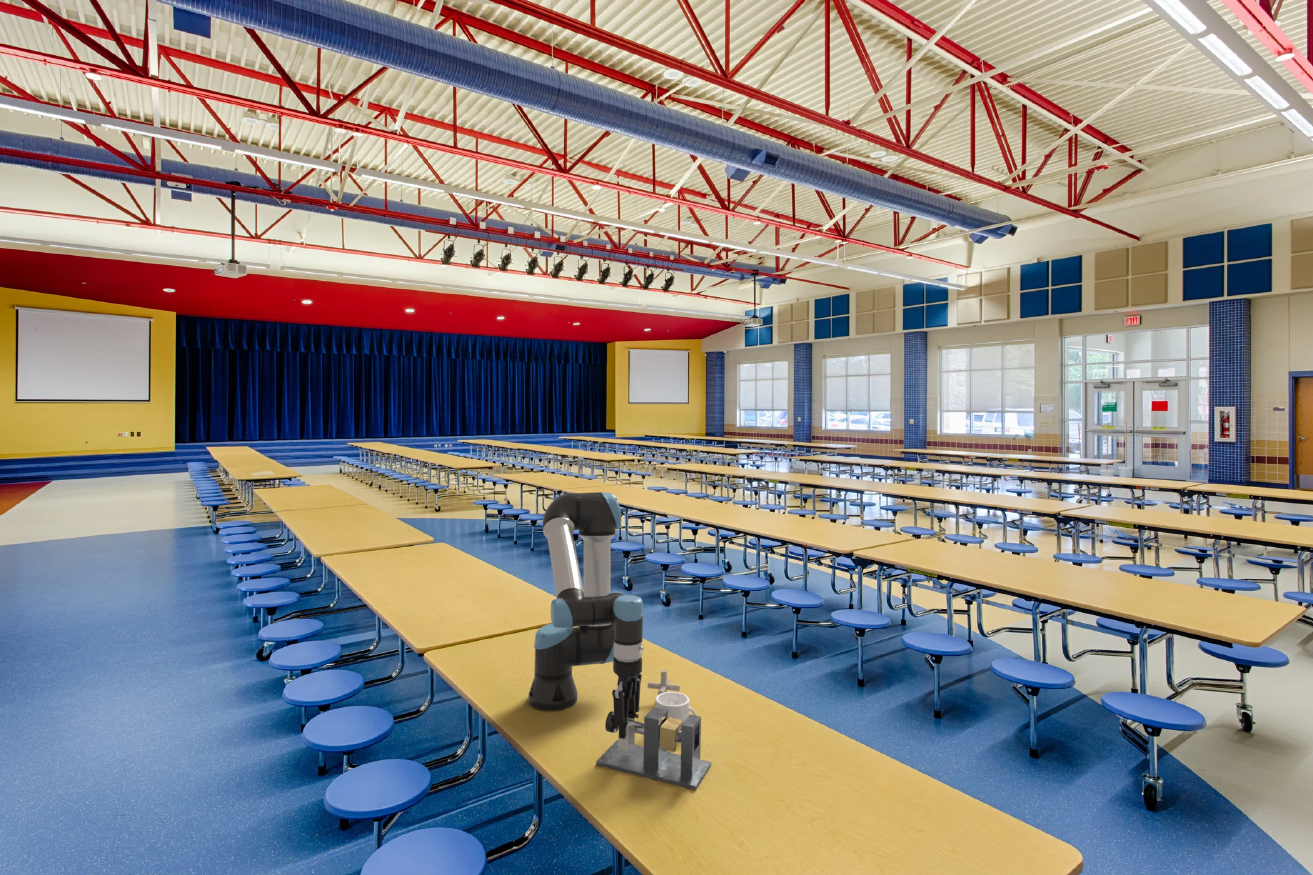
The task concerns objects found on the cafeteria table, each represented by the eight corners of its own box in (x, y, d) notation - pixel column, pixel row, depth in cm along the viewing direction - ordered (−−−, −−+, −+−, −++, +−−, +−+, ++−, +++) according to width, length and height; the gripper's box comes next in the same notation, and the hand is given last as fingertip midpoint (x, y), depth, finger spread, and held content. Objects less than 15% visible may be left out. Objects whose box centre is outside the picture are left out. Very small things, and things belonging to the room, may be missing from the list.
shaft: (605, 734, 171) (605, 715, 170) (613, 726, 175) (614, 707, 175) (688, 753, 162) (688, 733, 161) (695, 744, 166) (695, 725, 166)
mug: (701, 725, 190) (701, 694, 190) (691, 742, 180) (691, 709, 180) (662, 718, 194) (662, 688, 194) (650, 734, 184) (650, 702, 184)
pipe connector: (676, 711, 199) (677, 678, 199) (644, 707, 201) (644, 675, 201) (681, 697, 209) (682, 666, 208) (651, 694, 211) (651, 663, 210)
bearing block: (595, 765, 168) (596, 712, 167) (616, 743, 179) (617, 694, 178) (695, 790, 157) (696, 734, 157) (711, 765, 168) (712, 713, 168)
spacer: (659, 748, 164) (660, 726, 164) (668, 738, 170) (668, 717, 169) (674, 751, 163) (674, 730, 162) (682, 741, 168) (683, 720, 168)
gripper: (627, 670, 161) (626, 763, 162) (653, 649, 176) (651, 735, 177) (600, 665, 164) (599, 757, 165) (627, 644, 179) (626, 729, 180)
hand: (626, 745), depth 171 cm, fingers closed on shaft, 3 cm apart
